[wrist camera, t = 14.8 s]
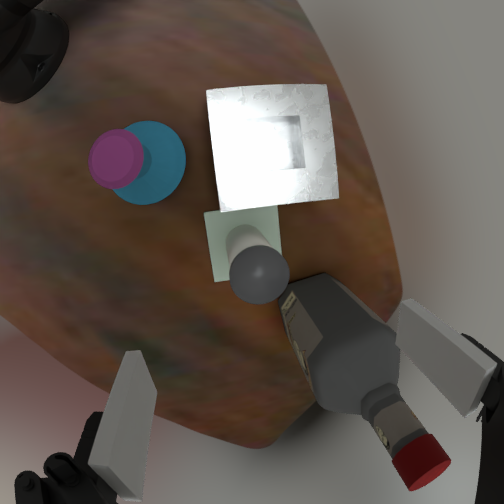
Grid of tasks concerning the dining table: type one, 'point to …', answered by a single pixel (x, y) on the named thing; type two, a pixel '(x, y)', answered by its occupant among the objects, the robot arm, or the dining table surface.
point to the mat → (226, 221)
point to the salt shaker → (255, 266)
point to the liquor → (358, 371)
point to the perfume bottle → (139, 162)
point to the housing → (272, 145)
